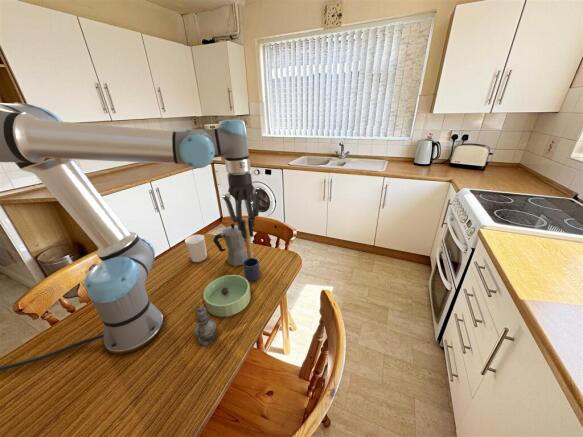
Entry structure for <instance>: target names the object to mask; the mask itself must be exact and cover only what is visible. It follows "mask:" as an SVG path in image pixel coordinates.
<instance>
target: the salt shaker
mask: <svg viewBox="0 0 583 437" xmlns="http://www.w3.org/2000/svg"><path fill="white" fill-rule="evenodd" d="M195 316H196V319H195V322H196V324H197V325H196V326H195V328H194V335H195V336H197V341H198V343H199V344H200V345H202V346H208V345H210V344H212V343H213V342H214V341H216V340H217V336H216V328H217V324H216V322H215V321H214V320H212V319H210V318H211V317H210V315H209V314H208V310H207V308H206V306H205V307H204V306H198V307H197V308H196V310H195Z"/></svg>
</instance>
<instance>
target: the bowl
mask: <svg viewBox="0 0 583 437" xmlns="http://www.w3.org/2000/svg"><path fill="white" fill-rule="evenodd" d="M223 288H227V289H228V293H227V294H225V295H224V294H222V292H221V290H222V289H223ZM251 294H252V293H251V287H250V281H248V280H247V279H245V276H242V275H240V274H227V275H226V274H225V275H222V276H220V277H217V278H215V279H214V280H212V281H211V282H209V283H208V284H207V285H206V286H205V288H204V290H203V294H202V296H203V300H204V305H205V308H206V311H207V312H209V314H211V315H213V316H214V317H215V316H216V317H222V318H223V317H230V316H235V315H236V314H238V313H240V312H242V311H243V310H244V309H245V308H246V307H248V305H249V303H250V301H251V297H252V295H251Z"/></svg>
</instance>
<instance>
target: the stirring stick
mask: <svg viewBox="0 0 583 437" xmlns="http://www.w3.org/2000/svg"><path fill="white" fill-rule="evenodd" d="M248 218H249V217H242V220H243V221H244V224H245V231H246V238H247V239H244V242H245V249H246V253H247V257H248V259H249V258H254V253H253V246H252V237H251V236H250V228H249V221H248Z"/></svg>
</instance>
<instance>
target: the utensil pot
mask: <svg viewBox="0 0 583 437" xmlns="http://www.w3.org/2000/svg"><path fill="white" fill-rule="evenodd" d="M242 266H243V267H242V268H243V274H244V278H245V279H247V281H248V282H254V281H257V280H259V279H260V277H261V268H260V261H259V259H258V258H255V257H252V258H248V259H246V260H245V261H244V262H243V265H242Z"/></svg>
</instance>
